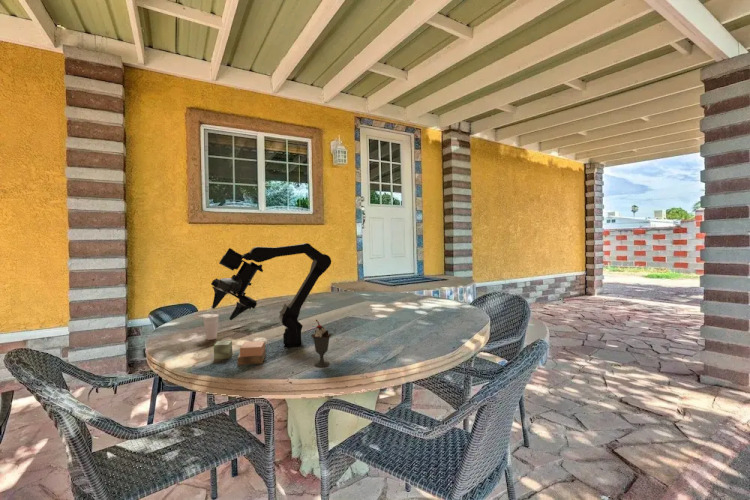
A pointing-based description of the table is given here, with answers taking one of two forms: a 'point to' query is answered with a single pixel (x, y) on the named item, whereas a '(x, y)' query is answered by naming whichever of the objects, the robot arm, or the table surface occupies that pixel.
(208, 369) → the table surface
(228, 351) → the cube
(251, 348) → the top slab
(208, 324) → the smoothie
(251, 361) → the bottom slab
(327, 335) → the sundae
